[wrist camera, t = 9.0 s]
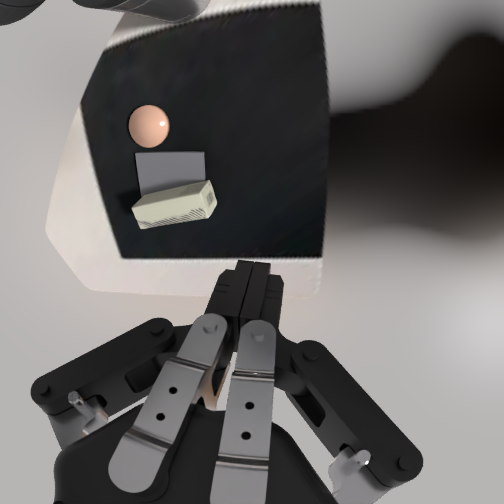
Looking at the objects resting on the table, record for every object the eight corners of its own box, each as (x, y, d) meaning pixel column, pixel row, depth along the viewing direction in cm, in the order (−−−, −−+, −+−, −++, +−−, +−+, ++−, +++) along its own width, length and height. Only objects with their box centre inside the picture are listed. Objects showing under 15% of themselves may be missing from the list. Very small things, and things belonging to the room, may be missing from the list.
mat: (136, 152, 45) (135, 153, 45) (203, 151, 44) (202, 152, 43) (145, 210, 52) (144, 211, 51) (207, 214, 50) (206, 215, 50)
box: (218, 203, 48) (154, 215, 52) (210, 178, 45) (144, 193, 49) (208, 219, 44) (140, 230, 47) (199, 192, 41) (129, 207, 45)
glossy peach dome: (129, 106, 41) (127, 107, 40) (168, 103, 40) (165, 103, 39) (133, 146, 45) (131, 148, 44) (170, 145, 44) (168, 146, 43)
